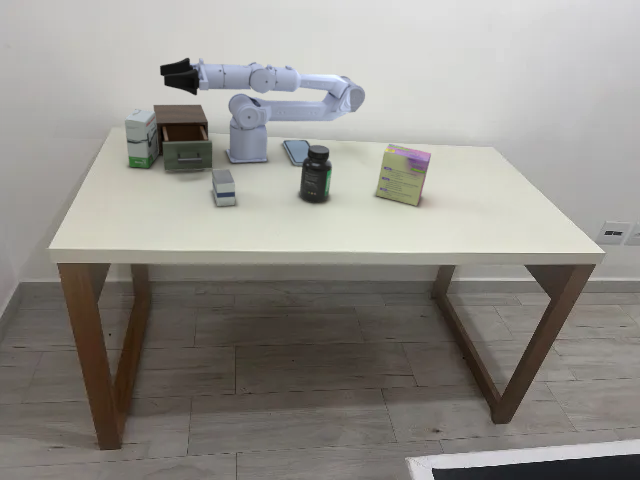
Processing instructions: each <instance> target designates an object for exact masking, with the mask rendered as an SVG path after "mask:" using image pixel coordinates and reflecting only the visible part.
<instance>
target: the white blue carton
mask: <svg viewBox="0 0 640 480" xmlns="http://www.w3.org/2000/svg"><path fill="white" fill-rule="evenodd" d="M211 172H212V174H211V175H212V176H211V177H212V179H211V183H212V194H213V197H214V200H215V203H216V206H217V207H227V206H228V207H229V206H235V205H236V203H235V202H236V182H235V180H234V178H233V175H232V172H231V171H230V168H228V169H226V168H225V169H212V171H211Z"/></svg>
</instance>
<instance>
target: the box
mask: <svg viewBox="0 0 640 480" xmlns="http://www.w3.org/2000/svg"><path fill="white" fill-rule="evenodd" d="M431 156H432V153H431V152H428V151H427V152H426V151H423V150H418V149H414V148H409V147H404V146H400V145H396V144H393V143H389V144H388V145H387V146H386V149H384V152H383V156H382V161H381V164H380V165H381V166H380V172H379V176H378V182H377V187H376V193H375V196H377V197H381V198H384V199H388V200H393V201H396V202H401V203H404V204H407V205H412V206H415V207H417V206H418V205H419V203H420V200H421V197H422V193H423V189H424V186H425V181H426V177H427V173H428V169H429V165H430V161H431Z"/></svg>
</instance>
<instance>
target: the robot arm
mask: <svg viewBox="0 0 640 480" xmlns="http://www.w3.org/2000/svg"><path fill="white" fill-rule="evenodd" d="M159 75H160V76H162V77H163V85H164V86H165V87H168V88H172V89H178V90H181V91H184V92H187V93H190V94H192V95H193V96H198V90H199V91H209V90H235V91H236V90H239V91H240V90H253V91H254V92H256V93H259V94H263V95H264V94H266V93H269V91H271V92H272V91H273V92H288V93H294V92H296V91H297V90H298V89H300V88H301V89H311V90H319V91H325V92H326V93H325V96H324V97H323V99H322V100H266V99H262V98H261V97H254V96H249V95H248V94H246V93H243V92H242V93H236V94H233V95H232V96H231V97H230V99H229V100H228V104H227V107H228V111H229V112H230V114H231V115H232V117H231V118H230V121H229V148H227V149H225V152H226V154H227V156H228V158H229V161H230V163H231V164H239V163H240V164H242V163H263V162H265V163H266V162H268V158H267V151H268V129H267V127H266V125H267V124H268V123H269V122H333V121H334V120H337V119H338V118H340V117H343V116H344V115H346V114H348V113H349V114H350V113H356V112H357V111H358V109H359V108H360V107H361V106H362V105H363V103H364V101H365V99H366V91H365V89H364V88H363V87H362V86H360V85H358V84H356V83H355V82H354V81H352V80H351V79H350V78H349V77H348V76H346V75H338V74H320V73H317V74H315V73H314V74H313V73H299V72H298V70H297V69H296V68H294V67H293V66H292V65H289V64H285V66H283V67H281V66H273V65H272V64H268V63H267V64H266V66H265V67H264V65H263V64H261V63H257V62H256V61H252V62H250V63H248V64H247V65H241V64H225V63H204V59H203V58H201V57H200V58H198V63H193V62H192V63H191V59H190V57H185V58H184V59H181V60H179V61H175V62H172V63H167V64H161V65H159Z"/></svg>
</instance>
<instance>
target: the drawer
mask: <svg viewBox="0 0 640 480" xmlns="http://www.w3.org/2000/svg"><path fill="white" fill-rule="evenodd" d="M162 132H163V142H162V145H163V155H162V156H163V157H162V158H163V169H164V171H183V170H199V169H200V170H201V169H213V168H214V166H213V161H214V160H213V142H212V140H209V138H208V139H207V136H206V133H205V131H204V128H203V125H179V126H162Z"/></svg>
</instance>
